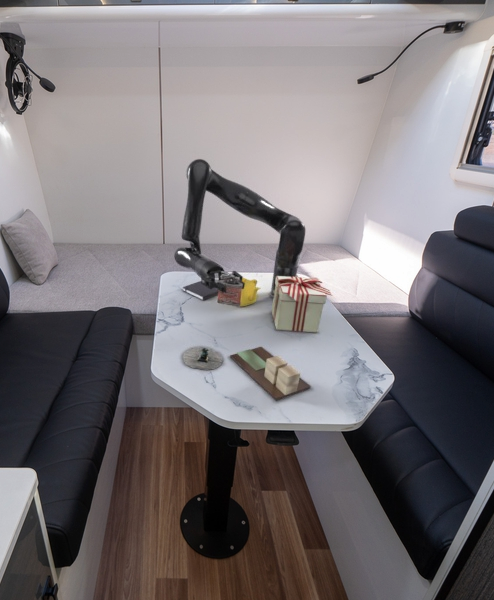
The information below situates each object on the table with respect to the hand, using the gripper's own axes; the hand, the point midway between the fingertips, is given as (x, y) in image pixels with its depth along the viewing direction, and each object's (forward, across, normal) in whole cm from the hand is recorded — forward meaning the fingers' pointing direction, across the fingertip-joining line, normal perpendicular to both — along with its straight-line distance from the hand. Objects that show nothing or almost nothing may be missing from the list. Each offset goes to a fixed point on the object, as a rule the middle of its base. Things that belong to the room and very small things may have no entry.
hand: (234, 288), depth 120 cm
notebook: (-37, +13, +18) cm, 43 cm away
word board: (+22, -1, +18) cm, 29 cm away
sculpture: (+9, -15, +18) cm, 25 cm away
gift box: (+3, +26, +18) cm, 32 cm away
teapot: (-20, +18, +18) cm, 32 cm away
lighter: (-2, 0, +7) cm, 7 cm away
